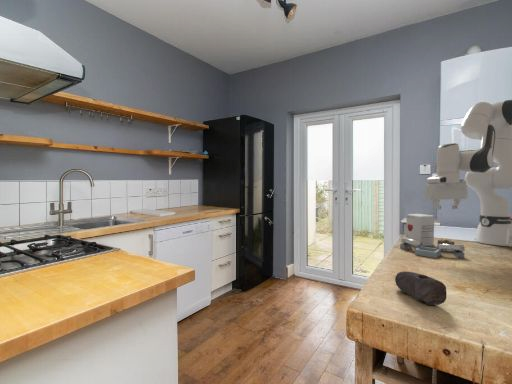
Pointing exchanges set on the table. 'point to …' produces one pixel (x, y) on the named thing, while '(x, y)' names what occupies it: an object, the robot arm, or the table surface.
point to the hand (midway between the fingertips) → (446, 209)
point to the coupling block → (446, 242)
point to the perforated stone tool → (421, 287)
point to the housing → (427, 252)
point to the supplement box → (420, 228)
